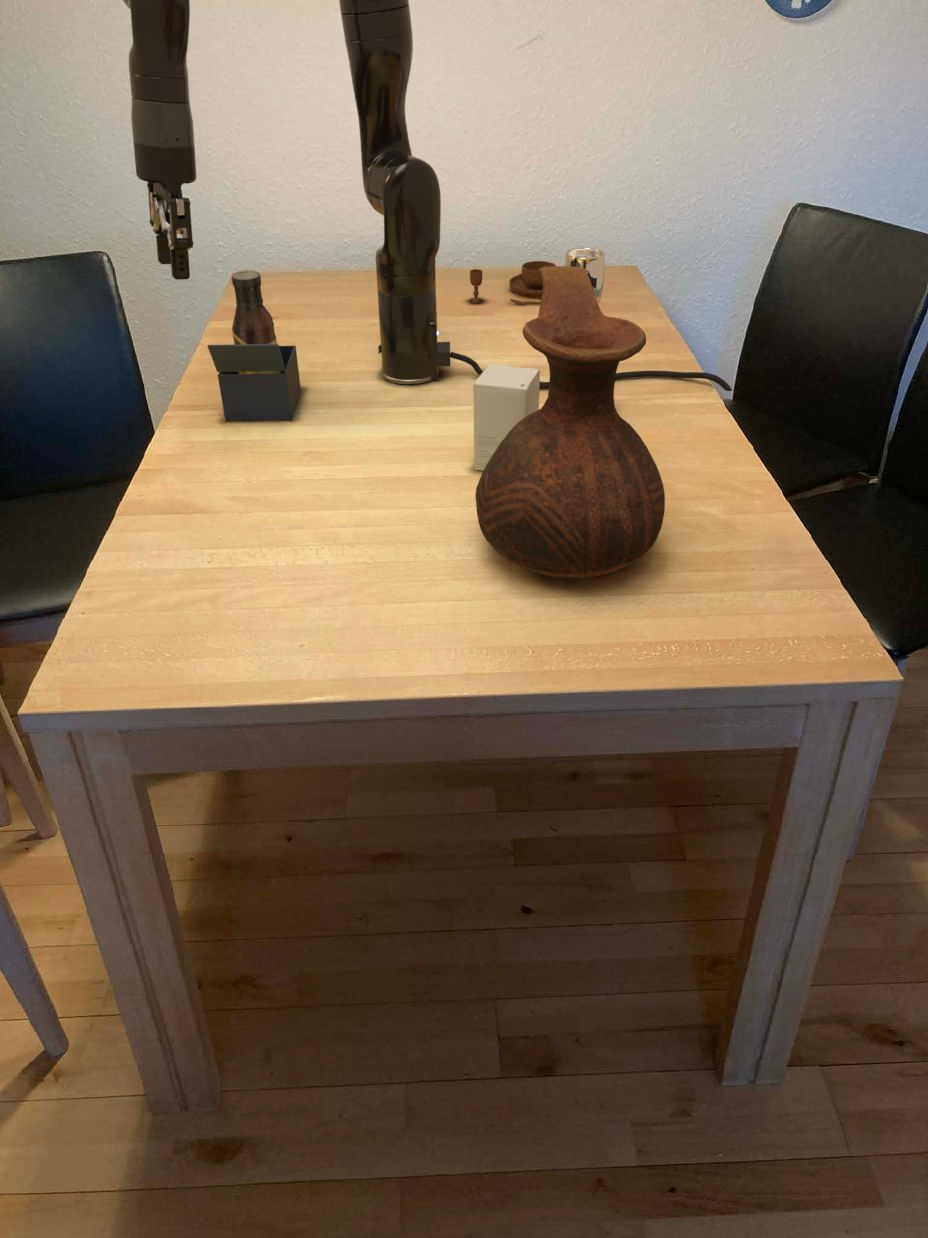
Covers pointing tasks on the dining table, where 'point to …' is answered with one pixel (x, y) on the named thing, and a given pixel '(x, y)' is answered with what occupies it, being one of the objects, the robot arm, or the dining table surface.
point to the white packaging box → (501, 406)
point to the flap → (247, 357)
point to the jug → (573, 449)
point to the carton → (262, 392)
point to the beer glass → (589, 266)
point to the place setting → (517, 282)
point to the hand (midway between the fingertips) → (173, 270)
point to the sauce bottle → (251, 314)
